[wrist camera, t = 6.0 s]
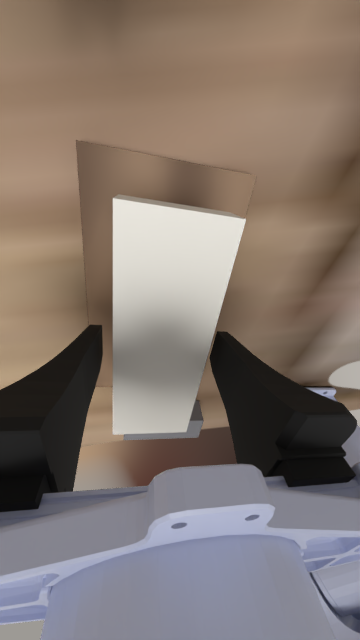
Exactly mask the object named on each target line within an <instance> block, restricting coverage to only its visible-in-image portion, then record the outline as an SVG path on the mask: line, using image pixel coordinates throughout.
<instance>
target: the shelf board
mask: <svg viewBox="0 0 360 640" xmlns="http://www.w3.org/2000/svg"><path fill="white" fill-rule="evenodd" d="M245 222H246V219H244V218H242V217H240V216H237V215H235V214H233V213H230V212H225V211H219V210H212V209H206V208H200V207H194V206H188V205H181V204H175V203H169V202H163V201H157V200H151V199H144V198H138V197H132V196H126V195H120V194H118V195H117V196H115V197H114V198H113V435H114V434H146V433H178V432H186V431H187V428H188V424H189V421H190V417H191V413H192V410H193V406H194V403H195V399H196V396H197V392H198V389H199V385H200V381H201V378H202V374H203V371H204V367H205V364H206V360H207V357H208V353H209V350H210V346H211V342H212V339H213V335H214V332H215V328H216V325H217V321H218V318H219V314H220V310H221V307H222V303H223V300H224V296H225V293H226V289H227V286H228V282H229V278H230V275H231V271H232V268H233V264H234V261H235V257H236V254H237V250H238V247H239V243H240V239H241V236H242V232H243V229H244V225H245Z"/></svg>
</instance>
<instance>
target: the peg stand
mask: <svg viewBox="0 0 360 640" xmlns="http://www.w3.org/2000/svg"><path fill="white" fill-rule="evenodd" d="M76 147H77V162H78V177H79V192H80V207H81V222H82V236H83V251H84V266H85V281H86V296H87V310H88V325H90V324H91V325H102V337H103V357H102V363H101V369H100V373H99V376H98V379H97V382H96V386H95V387H113V198H114V197H115V196H117V195H118V194H120V195H126V196H132V197H138V198H144V199H151V200H157V201H163V202H169V203H175V204H181V205H188V206H194V207H200V208H206V209H212V210H219V211H225V212H230V213H233V214H235V215H237V216H240V217H242V218H244V219H245V217H246V214H247V210H248V206H249V203H250V199H251V196H252V192H253V188H254V185H255V181H256V178H257V176H256V175H251V174H246V173H241V172H235V171H230V170H225V169H220V168H215V167H210V166H205V165H200V164H195V163H190V162H185V161H180V160H174V159H169V158H164V157H159V156H154V155H149V154H144V153H139V152H134V151H129V150H124V149H119V148H114V147H108V146H103V145H98V144H93V143H88V142H83V141H78V140H76Z"/></svg>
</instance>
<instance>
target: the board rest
mask: <svg viewBox="0 0 360 640" xmlns="http://www.w3.org/2000/svg"><path fill="white" fill-rule="evenodd" d="M202 424H203V416H202V412H201V408H200V404H199V401H195V403H194V406H193V410H192V413H191V417H190V421H189V424H188V428H187V431H186V432H178V433H146V434H124V440H137V439H138V440H139V439H165V438H193V437H198V436H199V433H200V430H201V427H202Z"/></svg>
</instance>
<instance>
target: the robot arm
mask: <svg viewBox="0 0 360 640" xmlns="http://www.w3.org/2000/svg"><path fill="white" fill-rule="evenodd" d="M102 357H103V337H102V325H91V324H90V325H89V326H88V327H87V328H86V329H85V330H84V331H83V332H82V333H81V334H80V335H79V336H78V337H77V338H76V339H75V340H74V341H73V342H72V343H71V344H70V345H69V346H68V347H66V348H65V349H64V350H63V351H62V352H61V353H59V354H58V355H57V356H56V357H54V358H53V359H52V360H51V361H49V362H48V363H46V364H45V365H44V366H42V367H41V368H39V369H38V370H36V371H34V372H32V373H31V374H29V375H27V376H26V377H24V378H22V379H21V380H19V381H17V382H15V383H13V384H11V385H9V386H7V387H5V388H3V389H1V390H0V625H2V624H11V623H20V622H30V621H39V620H45V621H44V626H43V630H42V634H41V638H40V640H360V427H359V426H358V425H357V420H356V419H355V418H354V417H353V415H352V414H351V413H350V412H349V411H348V409H347V408H346V407H345V406H344V405H343V404H342V403H340V402H338V401H337V400H336V399H335V398H334V397H333V396H334V395H335V393H336V390H335V389H334V388H305V387H303V386H301V385H299V384H297V383H295V382H294V381H292V380H290V379H288V378H286V377H285V376H283V375H281V374H280V373H278V372H277V371H275V370H274V369H272V368H271V367H269V366H268V365H266V364H265V363H264V362H262V361H261V360H260V359H258V358H257V357H256V356H255V355H253V354H252V353H251V352H250V351H249V350H247V349H246V348H245V347H244V346H243V345H242V344H241V343H239V342H238V341H237V340H236V339H235V338H234V337H233V336H231V335H230V334H229V333H228V332H219V331H217V334H216V337H215V341H214V344H213V348H212V351H211V355H210V362H211V367H212V372H213V375H214V378H215V381H216V384H217V386H218V389H219V392H220V395H221V398H222V400H223V403H224V406H225V409H226V413H227V417H228V421H229V425H230V430H231V434H232V439H233V443H234V449H235V454H236V459H237V464H229V465H214V466H213V465H212V466H196V467H181V468H175V469H170V470H167V471H164V472H162V473H160V474H158V475H156V476H155V478H154V479H153V480H152V481H151V483H150V484H149V486H140V487H127V488H114V489H100V490H87V491H74V492H73V487H74V481H75V475H76V469H77V463H78V458H79V452H80V447H81V442H82V437H83V431H84V426H85V421H86V416H87V412H88V408H89V405H90V402H91V398H92V395H93V392H94V389H95V386H96V382H97V379H98V376H99V373H100V369H101V363H102Z"/></svg>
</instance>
